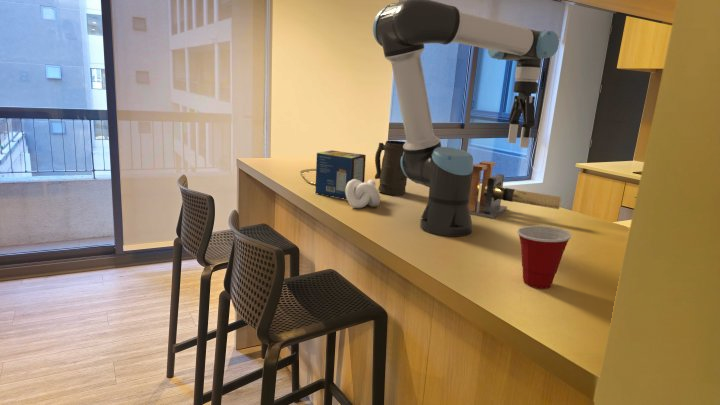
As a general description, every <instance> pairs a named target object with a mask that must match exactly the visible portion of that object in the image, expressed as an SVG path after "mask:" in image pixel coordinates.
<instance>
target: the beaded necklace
mask: <svg viewBox="0 0 720 405" xmlns="http://www.w3.org/2000/svg"><path fill="white" fill-rule="evenodd" d="M309 171H316V168H308V169H307V168H306V169H302V170H300V171H299V173H300V175H301V176H302V178H304V179H305V181H306V182H307V183H308V184H310V185H312V184H315V185H314V186H316V182H313V181H310V180H308V178H307V177H306V176H305V175H304V174H305V173H304V172H307V173H310V172H309ZM302 173H304V174H302ZM303 175H304V176H305V177H306V178H307V179H306V178H305V177H304V176H303Z"/></svg>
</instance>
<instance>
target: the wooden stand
mask: <svg viewBox="0 0 720 405" xmlns="http://www.w3.org/2000/svg"><path fill="white" fill-rule="evenodd" d="M495 166H496V161H488V160H482V161H481V162H480V161H479V163H473V173H472V181H471V188H470V196H469V211H470V215H474V216H478V217H484V218H489V219H493V218H494V219H495V218H497V217H499V214H500V215H501V214H503V213H504V212H505V211H507V210H508V206H505V205H501V202H502V200H501V199H495V198H494V194H495V187H501V188H504V180H505V174H502V173H501V174H500V173H497V174H496V175H493V167H495ZM482 171H483V172H482ZM481 175H482V179H481ZM492 175H493V176H492ZM481 180H482V181H481ZM480 185H481V190H480ZM486 185H487V193H486V197H484V190H485V187H486ZM479 193H480V198H479ZM506 209H507V210H506ZM503 211H504V212H503Z"/></svg>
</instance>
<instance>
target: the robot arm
mask: <svg viewBox="0 0 720 405" xmlns="http://www.w3.org/2000/svg"><path fill="white" fill-rule="evenodd" d="M372 25H373V26H372V32H373V33H372V34H373V36H374V39H375V42H376V43H378V45H380V46H381V47H382V50H383V55H384V59H386V60H388V61H389V62H390V63H391V67H392V72H393V79H394V83H395V88H396V93H397V94H396V95H397V99H398V103H399V109H400V113H401V120H402V124H403V129H404V134H405V138H406V141H404V142H405V144H404V145H403V150H404V152H403V156H402V157H401V169H402V171H403V173H404V175H405V176H406V177H407V179H409V180H410V181H412V182H413V183H415V184H419V185H422V186H424V187H426V188H429V189H428V199H427V200H428V201H427V204H426V206H425V208H424V211H423V213H422V215H421V218H420V224H419V225H420V226H419V227H420V228H421V230H423V231H426V232H427V233H430V234H434V235H439V236H446V237H464V236H468V235H470V234H471V233H472V231H473V221H472V216H471V214H470V211H469V196H470V188H471V181H472V173H473V165H474V158H473V155H472V154H471V153H470V152H468V151H466V150H463V149H460V148H456V147H449V146H442V143H441V139H440V137H438V136H436V135H435V133H434V126H433V121H432V116H431V109H430V104H429V103H430V102H429V97H428V93H427V92H428V91H427V87H426V79H425V76H424V69H423V63H422V58H421V55H422V53H423V51H424V50H425V49H426V48H425V45H426V44H439V45H445V46H446V45H450V44H451V43H456V44H460V45H465V46H471V47H474V48H475V47H477V48H480V49H486V50H487V54H488V56H489V57H490V58H491V59H495V60H499V61H500V60H501V61H514V62H516V67H515V75H514V79H515V81H514V85H513V92H514V93H517V94H518V95H514V99H513V104H512V107H511V110H510V114H509V117H508V120H507V121H508V122H509V130H508V137H507V143H509V144H516V143H517V137H518V132H519V125H520V118H522V124H521V131H520V132H521V133H520V139H519V140H520V141H519V146H518V147H519V148H524V149H525V148H526V149H527V148H528V149H529V145H530V139H531V138H530V137H531V133H532V132H531V131H532V128H533V127H535V99H536V97H535V96H532V95H533V94H534V95H535V94H537V93H538V88H539V83H538V81H539V79H540V75H541V74H542V71H541V67H542V66H541V65H542V60H543V59H548V58H552V57H553V56H554V55H556V54H557V53H558V49H559V47H560V46H559V45H560V40H559V38H560V37H559V35H558V34H557V33H556V32H555V31H553V30H546V29H544V30H542V31H541V30H535V29H530V28H526V27H521V26H518V25H513V24H509V23H506V22H501V21H497V20H494V19H493V20H492V19H489V18H485V17H481V16H478V15H474V14H473V15H472V14H468V13H464V12H461V11H460V9H459V8H458V7H457V6H455V5H450V4H446V3H443V2H438V1H435V0H403V1H399V2H393V3H390V4H388V5H387V6H384V7H383V8H382V9H380V11H378V12H377V14H376V16H375V17H374V20H373V24H372ZM521 116H522V117H521Z"/></svg>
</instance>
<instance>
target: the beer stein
mask: <svg viewBox="0 0 720 405" xmlns="http://www.w3.org/2000/svg"><path fill="white" fill-rule="evenodd" d="M405 142H406V141H402V140H386V141H385V142H379V143H378V147H377V149H376V152H375V156H374V158H375V159H374V163H375V169H376V173H375V175H374V179H375V180H379V185H378V188H377V191H378V192H380V193H383V194H385V195H390V196H402V195H405V194H406V186H407V182H408V178H407V177H406V176H405V175H404V173H403V171H402V169H401V157H402V156H403V152H404V150H403V145H404V144H405ZM384 143H385V144H384ZM383 151H384V152H383ZM382 152H383V156H382ZM381 156H382V160H381ZM381 161H382V162H381Z"/></svg>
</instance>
